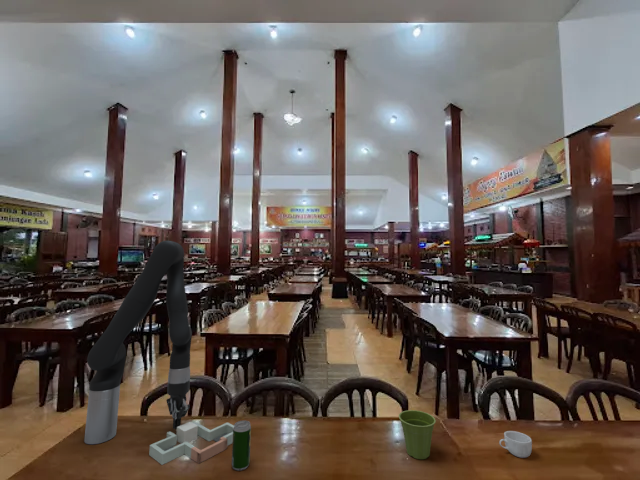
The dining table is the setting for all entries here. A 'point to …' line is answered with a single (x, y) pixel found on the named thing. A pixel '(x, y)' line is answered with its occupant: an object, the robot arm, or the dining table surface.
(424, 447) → the plant pot
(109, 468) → the dining table surface
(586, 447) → the dining table surface
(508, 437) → the teacup
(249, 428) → the beer can
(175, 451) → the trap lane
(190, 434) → the cream block
